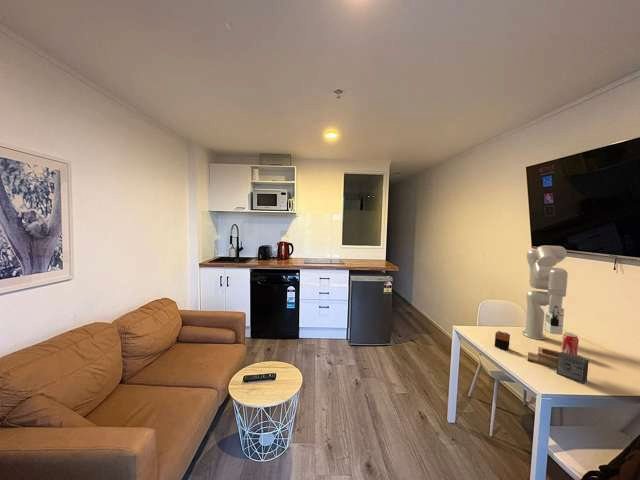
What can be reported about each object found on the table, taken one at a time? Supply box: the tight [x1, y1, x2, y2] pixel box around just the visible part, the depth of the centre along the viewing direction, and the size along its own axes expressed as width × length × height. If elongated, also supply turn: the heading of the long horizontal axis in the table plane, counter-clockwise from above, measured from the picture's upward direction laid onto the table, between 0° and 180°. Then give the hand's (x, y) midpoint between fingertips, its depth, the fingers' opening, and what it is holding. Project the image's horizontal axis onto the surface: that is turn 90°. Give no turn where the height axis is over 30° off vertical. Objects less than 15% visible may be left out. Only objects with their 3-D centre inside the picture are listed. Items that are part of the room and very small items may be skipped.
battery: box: [494, 330, 511, 351], centre depth 167 cm, size 4×7×10 cm, turn 42°
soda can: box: [561, 332, 580, 356], centre depth 161 cm, size 7×7×12 cm
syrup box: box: [544, 305, 565, 336], centre depth 148 cm, size 6×6×14 cm
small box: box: [555, 351, 589, 384], centre depth 136 cm, size 11×6×10 cm, turn 33°
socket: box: [527, 346, 562, 370], centre depth 150 cm, size 11×20×6 cm, turn 51°
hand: (554, 323), depth 148 cm, fingers closed on syrup box, 7 cm apart
